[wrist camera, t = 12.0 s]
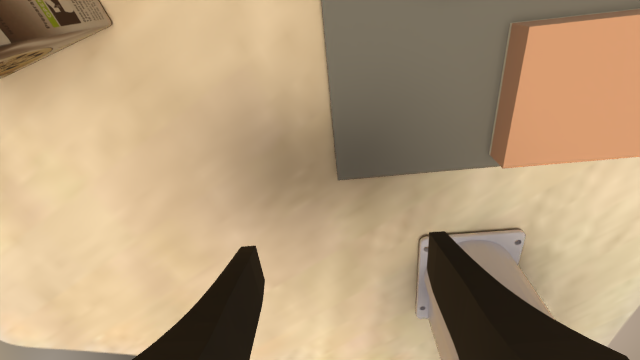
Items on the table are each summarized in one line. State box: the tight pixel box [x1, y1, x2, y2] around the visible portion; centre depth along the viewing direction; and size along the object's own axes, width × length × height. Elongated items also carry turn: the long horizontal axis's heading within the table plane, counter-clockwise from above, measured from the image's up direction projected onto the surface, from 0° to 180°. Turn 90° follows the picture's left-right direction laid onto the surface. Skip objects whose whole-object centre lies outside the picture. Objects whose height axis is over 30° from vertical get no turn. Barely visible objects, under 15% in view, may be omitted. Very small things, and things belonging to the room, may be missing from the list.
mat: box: [321, 0, 640, 180], centre depth 19 cm, size 15×21×1 cm
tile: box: [489, 8, 640, 168], centre depth 19 cm, size 8×2×10 cm
